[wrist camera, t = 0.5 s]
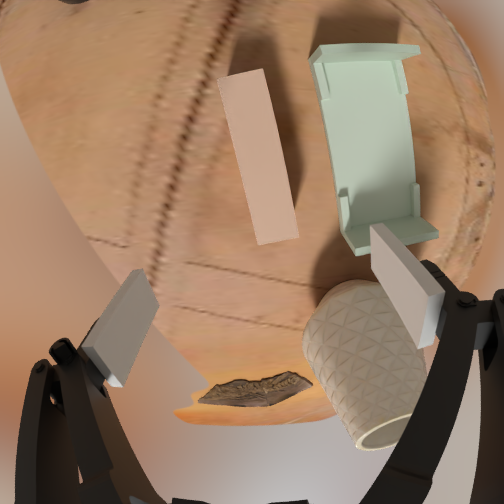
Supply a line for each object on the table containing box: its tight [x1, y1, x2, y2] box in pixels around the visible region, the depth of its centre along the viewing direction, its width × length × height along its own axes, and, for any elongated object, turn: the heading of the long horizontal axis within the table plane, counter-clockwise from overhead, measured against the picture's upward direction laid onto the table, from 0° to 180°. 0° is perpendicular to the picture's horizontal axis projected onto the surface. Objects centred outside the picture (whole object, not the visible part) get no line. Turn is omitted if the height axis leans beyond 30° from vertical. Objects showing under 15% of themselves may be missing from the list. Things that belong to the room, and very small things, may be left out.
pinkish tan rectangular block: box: [217, 69, 299, 245], centre depth 30 cm, size 18×4×7 cm, turn 13°
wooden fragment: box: [198, 372, 313, 407], centre depth 53 cm, size 26×11×1 cm, turn 107°
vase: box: [302, 279, 427, 451], centre depth 32 cm, size 17×17×23 cm
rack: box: [308, 43, 439, 256], centre depth 28 cm, size 23×12×7 cm, turn 13°
